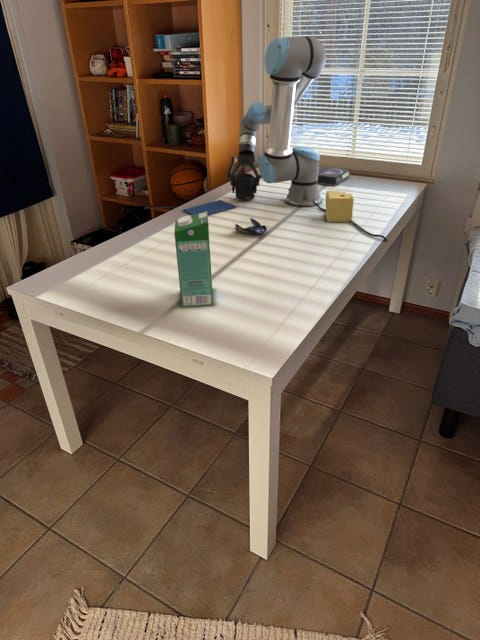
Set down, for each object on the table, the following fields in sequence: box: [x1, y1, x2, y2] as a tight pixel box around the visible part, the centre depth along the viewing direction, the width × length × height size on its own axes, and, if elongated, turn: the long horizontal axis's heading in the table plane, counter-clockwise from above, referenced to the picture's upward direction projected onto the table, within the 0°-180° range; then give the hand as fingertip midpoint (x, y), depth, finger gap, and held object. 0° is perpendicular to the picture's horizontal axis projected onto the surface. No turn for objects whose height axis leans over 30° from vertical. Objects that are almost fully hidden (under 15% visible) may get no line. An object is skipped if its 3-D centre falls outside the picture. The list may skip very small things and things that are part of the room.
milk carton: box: [173, 211, 214, 307], centre depth 132 cm, size 9×9×25 cm
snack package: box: [234, 217, 268, 236], centre depth 180 cm, size 12×6×12 cm
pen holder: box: [234, 172, 256, 202], centre depth 214 cm, size 9×9×10 cm
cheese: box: [325, 190, 355, 223], centre depth 191 cm, size 10×11×10 cm
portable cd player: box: [318, 165, 350, 186], centre depth 241 cm, size 16×17×4 cm
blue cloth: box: [182, 199, 237, 216], centre depth 206 cm, size 12×20×1 cm, turn 128°
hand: (244, 191), depth 212 cm, fingers closed on pen holder, 9 cm apart
